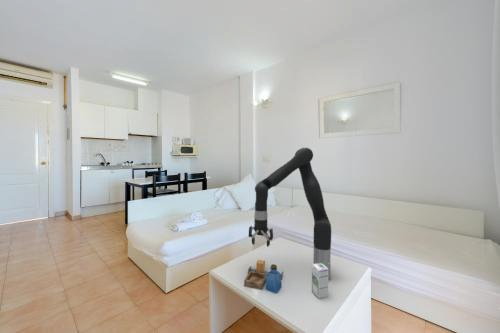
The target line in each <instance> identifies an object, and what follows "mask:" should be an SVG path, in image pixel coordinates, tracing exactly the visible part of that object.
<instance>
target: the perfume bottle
mask: <svg viewBox="0 0 500 333" xmlns="http://www.w3.org/2000/svg"><path fill="white" fill-rule="evenodd" d="M277 267H278V265H277V264H275V263H273V264H271V265H270V267H269V268H270V271H268V272H269V273H268V275H267V276H266V283H265V286H264V287H265V289H264V290H266V291H268V292H271V293H274V294H278V292H280V290H281V288H282V280H283V278H282V276H281V272H280V271H279V270H278V268H277ZM281 279H282V280H281Z"/></svg>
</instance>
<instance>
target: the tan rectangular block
mask: <svg viewBox="0 0 500 333" xmlns="http://www.w3.org/2000/svg"><path fill="white" fill-rule="evenodd" d="M265 262H266V260H264V259H257V261H256V262H255V268H251V271H255V272H260V273H264V271H266V270H265V269H266V268H265V265H266V263H265Z"/></svg>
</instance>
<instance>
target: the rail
mask: <svg viewBox="0 0 500 333" xmlns="http://www.w3.org/2000/svg"><path fill="white" fill-rule="evenodd" d="M251 269H252V266H251V265H250V266H249V267H248V269H247V275H248V274H249V272H250V271H251ZM254 272H255V271H254ZM269 272H270V271H266V270H265V271H264V273H265V274H267V275H268V273H269ZM280 274H281V276H282V279H281V281H283V278H284V271H281V272H280Z"/></svg>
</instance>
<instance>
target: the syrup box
mask: <svg viewBox="0 0 500 333" xmlns="http://www.w3.org/2000/svg"><path fill="white" fill-rule="evenodd" d="M311 265H312V266H311V267H312V269H311V270H312V272H311V276H312V277H311V278H312V279H311V292H312V293H313V294H314V296H316V297H317V299H323V298H324V299H325V298H328V297H329V280H328V268H327V267H326V266H325V265H323V264H322V263H316V264H311Z"/></svg>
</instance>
